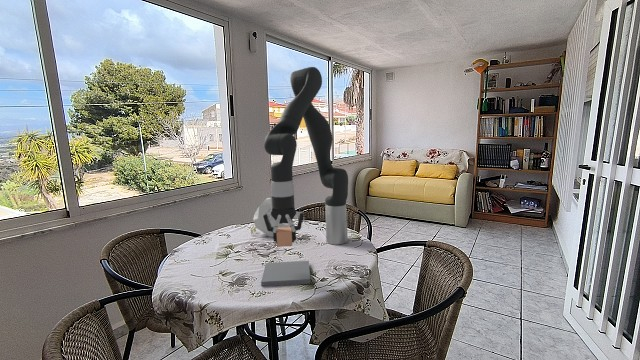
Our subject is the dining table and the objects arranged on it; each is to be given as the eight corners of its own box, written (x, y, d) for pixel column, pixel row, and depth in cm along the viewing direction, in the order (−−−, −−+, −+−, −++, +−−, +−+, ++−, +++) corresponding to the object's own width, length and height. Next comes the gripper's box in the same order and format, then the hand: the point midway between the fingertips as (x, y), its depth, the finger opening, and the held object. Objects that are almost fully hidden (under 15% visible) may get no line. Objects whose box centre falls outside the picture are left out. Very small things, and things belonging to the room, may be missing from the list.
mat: (309, 264, 112) (308, 260, 112) (310, 283, 99) (310, 279, 98) (266, 266, 111) (266, 262, 111) (261, 286, 98) (261, 281, 97)
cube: (292, 240, 106) (292, 227, 105) (292, 246, 101) (291, 231, 100) (278, 241, 105) (277, 227, 105) (277, 246, 100) (276, 232, 100)
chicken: (253, 244, 144) (291, 234, 139) (239, 207, 142) (276, 196, 137) (260, 239, 151) (295, 229, 146) (246, 203, 149) (282, 192, 144)
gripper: (304, 190, 104) (305, 237, 107) (262, 192, 103) (265, 238, 106) (304, 195, 97) (305, 245, 100) (259, 196, 96) (262, 247, 99)
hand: (284, 241), depth 103 cm, fingers closed on cube, 5 cm apart
